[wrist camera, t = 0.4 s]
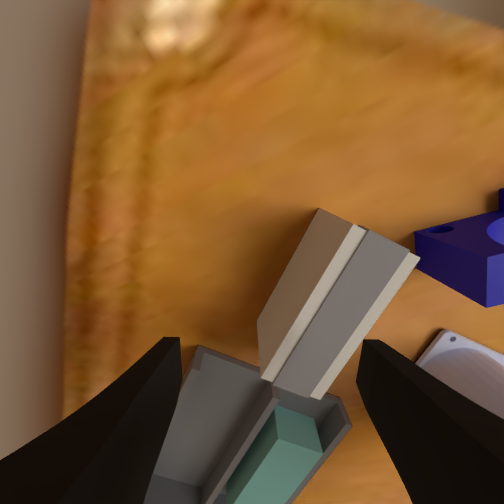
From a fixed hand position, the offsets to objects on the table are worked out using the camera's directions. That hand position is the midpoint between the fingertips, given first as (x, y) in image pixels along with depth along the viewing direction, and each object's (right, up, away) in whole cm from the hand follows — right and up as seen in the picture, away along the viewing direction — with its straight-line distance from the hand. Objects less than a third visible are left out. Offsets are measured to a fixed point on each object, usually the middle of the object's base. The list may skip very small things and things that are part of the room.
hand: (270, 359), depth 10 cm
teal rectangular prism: (+1, -14, +14) cm, 20 cm away
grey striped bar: (+4, +2, +9) cm, 10 cm away
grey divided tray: (-2, -13, +14) cm, 19 cm away
